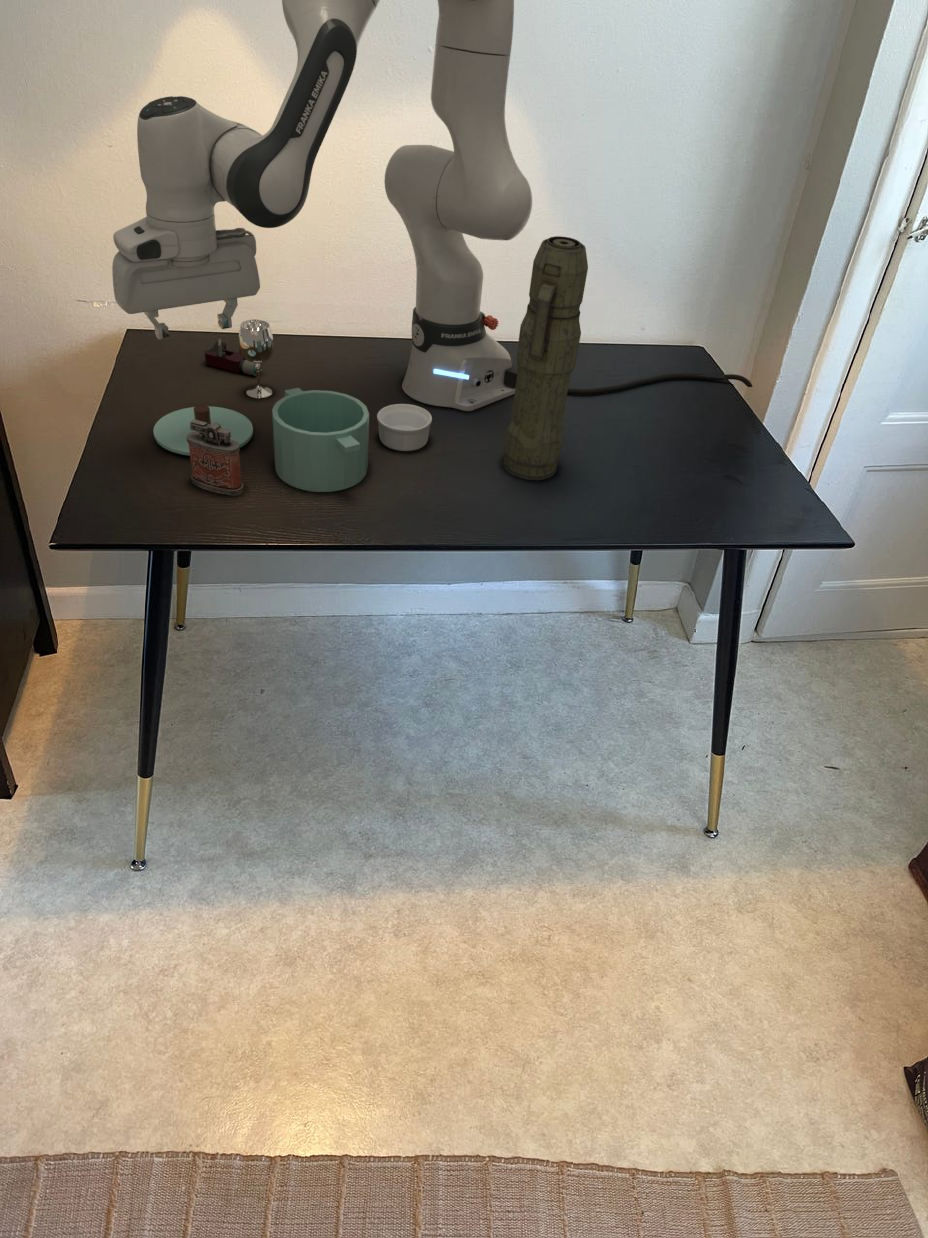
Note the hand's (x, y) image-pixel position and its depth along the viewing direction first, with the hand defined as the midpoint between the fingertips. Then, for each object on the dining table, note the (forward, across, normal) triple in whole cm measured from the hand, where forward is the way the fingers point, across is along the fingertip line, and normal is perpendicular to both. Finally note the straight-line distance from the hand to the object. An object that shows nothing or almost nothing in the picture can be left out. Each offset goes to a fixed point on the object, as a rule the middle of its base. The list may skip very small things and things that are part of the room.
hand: (194, 332), depth 131 cm
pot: (+17, -12, +16) cm, 26 cm away
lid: (+17, 0, -1) cm, 17 cm away
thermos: (+18, -42, +30) cm, 55 cm away
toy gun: (+18, -16, -23) cm, 33 cm away
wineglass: (+18, -14, -11) cm, 25 cm away
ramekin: (+18, -28, +14) cm, 36 cm away
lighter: (+17, +4, +14) cm, 23 cm away
